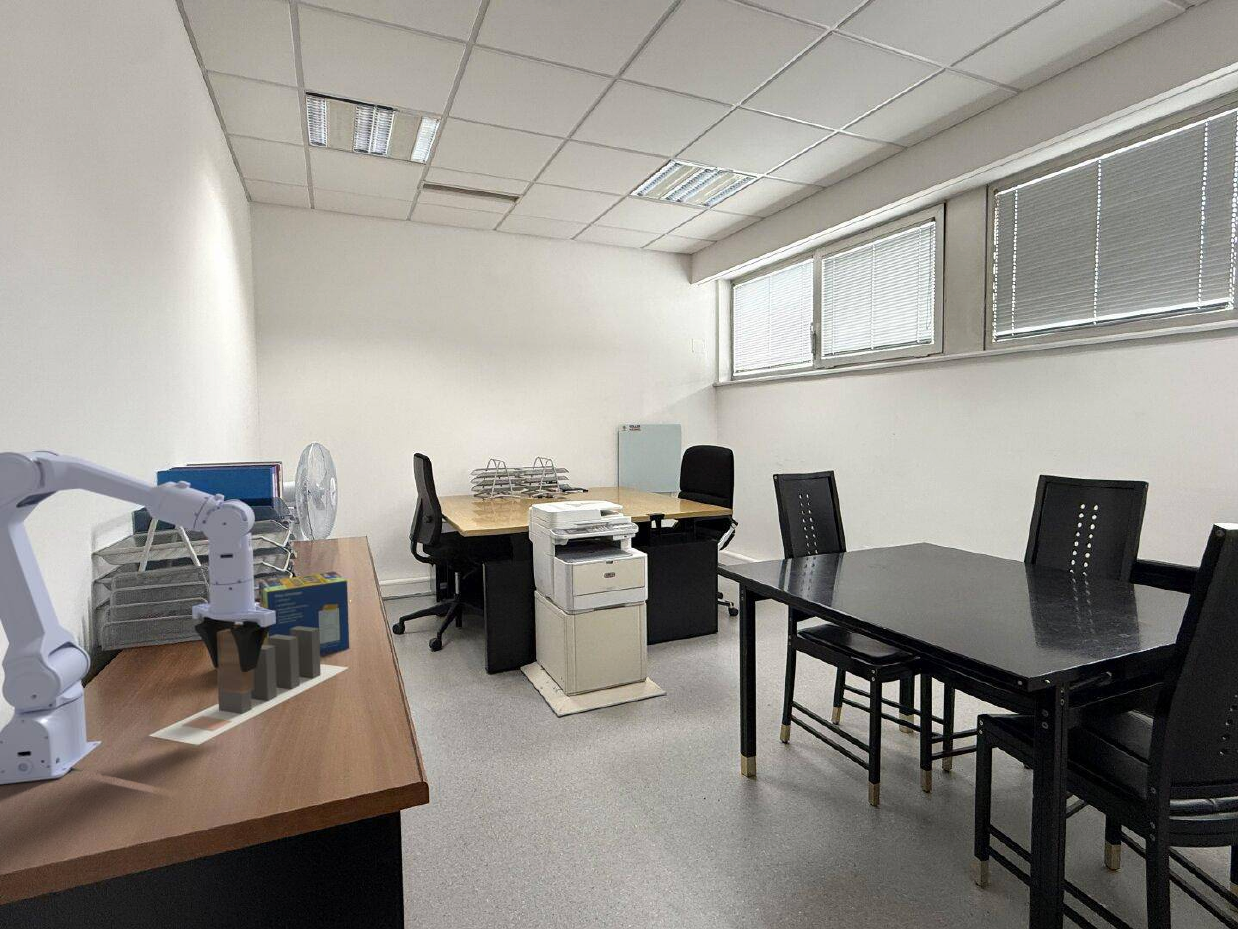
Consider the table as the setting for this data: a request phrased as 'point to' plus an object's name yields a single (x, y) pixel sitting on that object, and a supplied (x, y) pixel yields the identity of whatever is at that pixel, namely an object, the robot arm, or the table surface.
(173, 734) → the board
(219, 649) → the domino
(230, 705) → the domino
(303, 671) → the domino
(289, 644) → the domino
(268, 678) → the domino
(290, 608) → the protein box
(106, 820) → the table surface
